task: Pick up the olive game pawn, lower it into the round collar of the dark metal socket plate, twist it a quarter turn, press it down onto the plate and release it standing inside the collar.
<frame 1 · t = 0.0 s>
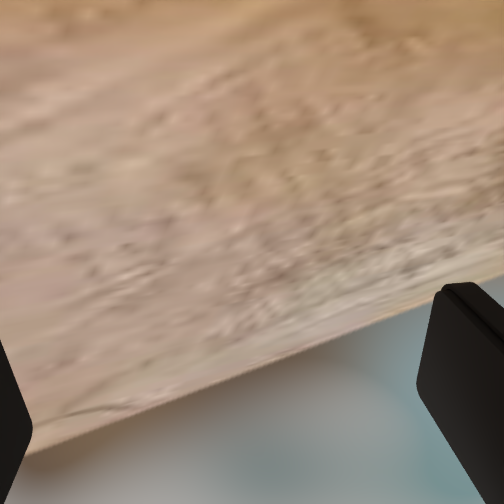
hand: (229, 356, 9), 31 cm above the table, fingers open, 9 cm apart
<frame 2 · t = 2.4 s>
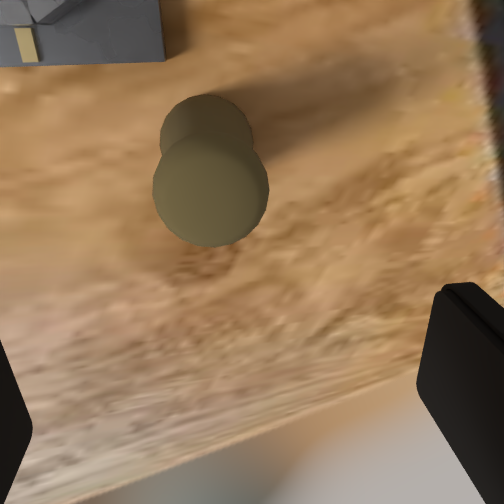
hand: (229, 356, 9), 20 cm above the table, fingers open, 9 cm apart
olive game pawn: (207, 143, 27), on the table
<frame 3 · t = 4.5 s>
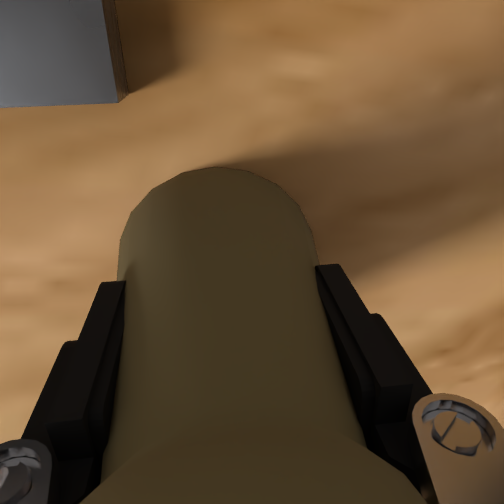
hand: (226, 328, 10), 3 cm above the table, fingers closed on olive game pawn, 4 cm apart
olive game pawn: (218, 259, 13), on the table, touching gripper
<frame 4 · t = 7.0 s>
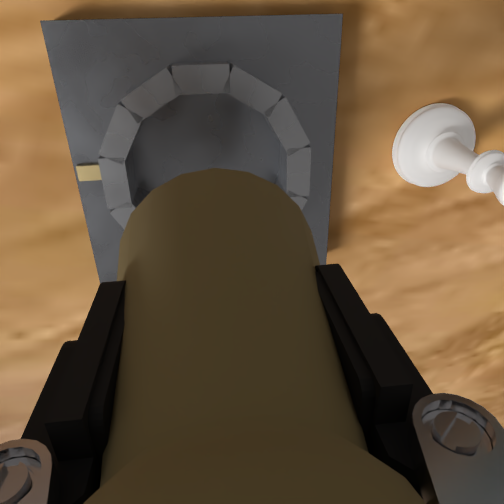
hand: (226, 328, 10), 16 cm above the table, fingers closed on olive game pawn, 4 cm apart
olive game pawn: (218, 260, 13), point 12 cm above the table, touching gripper
chess piece: (429, 145, 25), on the table
socket: (207, 157, 24), on the table
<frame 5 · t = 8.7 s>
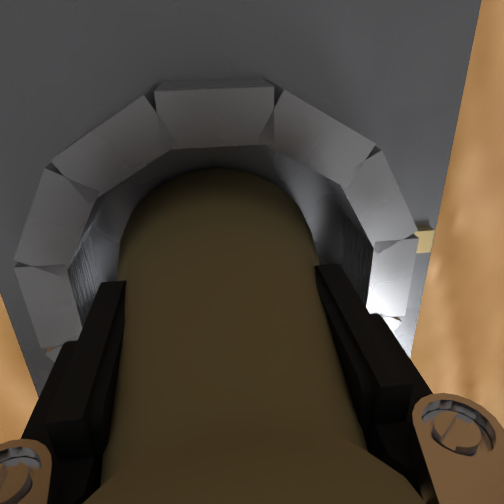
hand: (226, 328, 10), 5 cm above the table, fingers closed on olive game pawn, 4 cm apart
olive game pawn: (218, 260, 13), point 2 cm above the table, touching gripper
socket: (221, 232, 14), on the table
when the fingers open (5 cm above the table, at t = 9.4 s): olive game pawn stays where it is, resting on socket.
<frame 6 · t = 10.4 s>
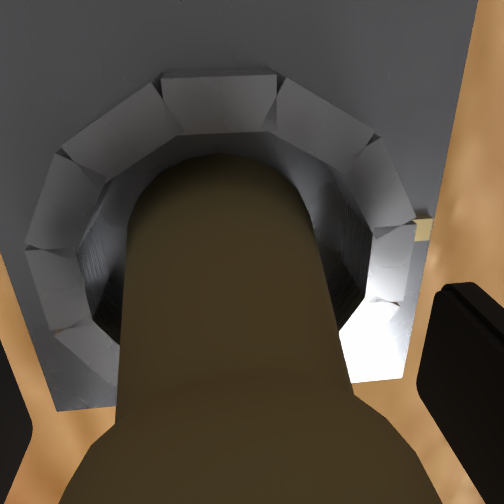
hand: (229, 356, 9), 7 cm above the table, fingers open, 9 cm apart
olive game pawn: (221, 242, 14), point 1 cm above the table, touching socket
socket: (224, 220, 15), on the table
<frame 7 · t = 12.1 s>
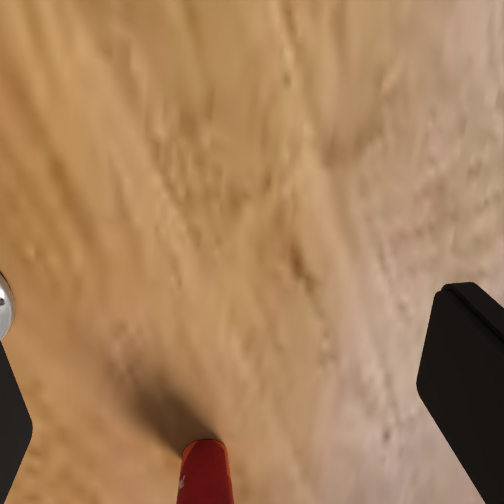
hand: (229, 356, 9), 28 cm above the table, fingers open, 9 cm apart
paper cup: (205, 452, 52), on the table
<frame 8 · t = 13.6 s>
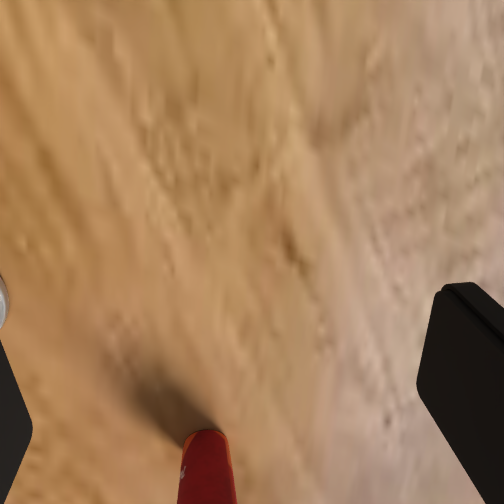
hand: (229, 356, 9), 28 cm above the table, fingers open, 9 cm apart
paper cup: (206, 443, 52), on the table
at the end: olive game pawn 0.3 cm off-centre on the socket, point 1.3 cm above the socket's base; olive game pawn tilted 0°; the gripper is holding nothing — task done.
